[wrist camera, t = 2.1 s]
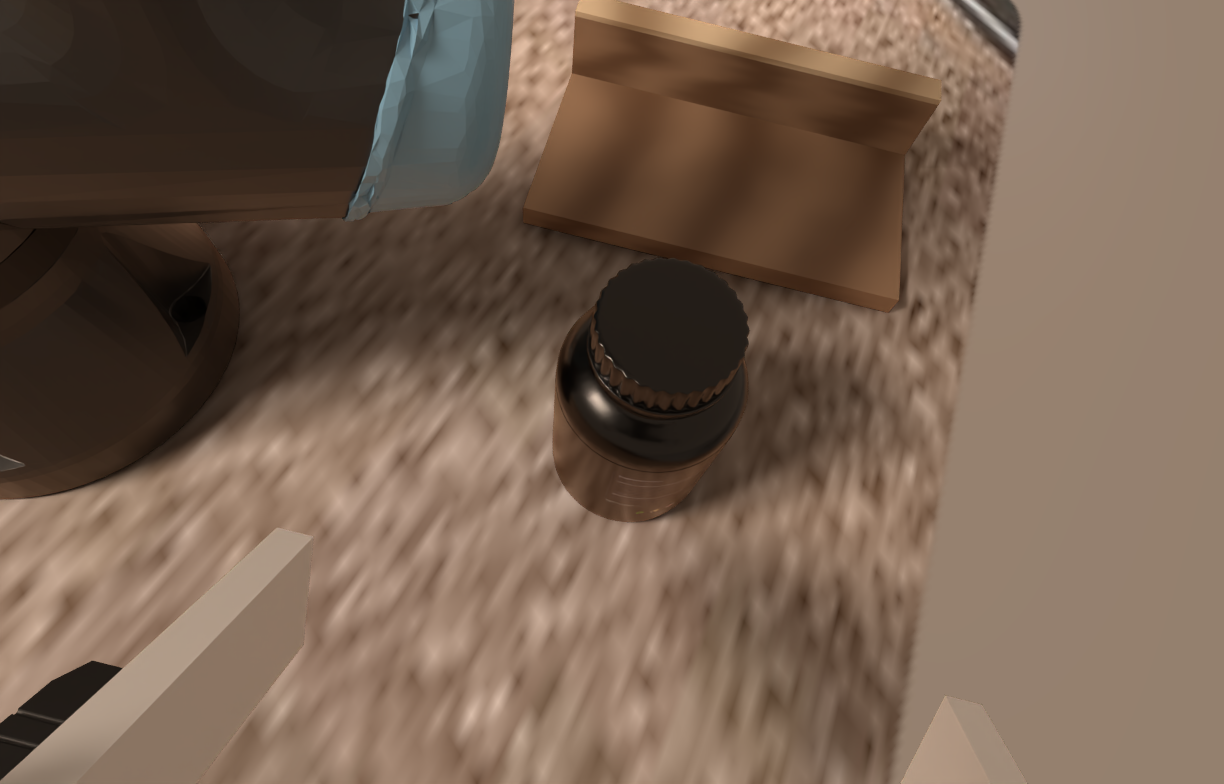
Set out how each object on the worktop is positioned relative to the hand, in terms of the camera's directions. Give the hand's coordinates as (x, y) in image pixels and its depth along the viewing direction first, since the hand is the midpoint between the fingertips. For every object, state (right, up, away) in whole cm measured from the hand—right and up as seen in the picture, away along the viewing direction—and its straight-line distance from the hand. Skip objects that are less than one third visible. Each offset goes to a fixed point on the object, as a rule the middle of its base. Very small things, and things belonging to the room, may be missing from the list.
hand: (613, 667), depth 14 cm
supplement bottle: (+1, +3, +17) cm, 17 cm away
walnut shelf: (+6, +18, +25) cm, 31 cm away
